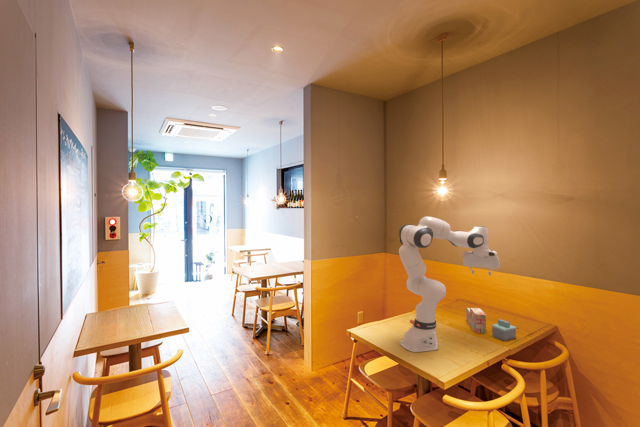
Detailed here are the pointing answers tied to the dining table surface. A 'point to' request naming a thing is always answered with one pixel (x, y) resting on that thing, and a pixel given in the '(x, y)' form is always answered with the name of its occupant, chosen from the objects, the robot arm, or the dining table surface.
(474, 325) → the stack of blocks
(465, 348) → the dining table surface
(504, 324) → the lid
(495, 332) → the storage box
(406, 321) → the dining table surface
